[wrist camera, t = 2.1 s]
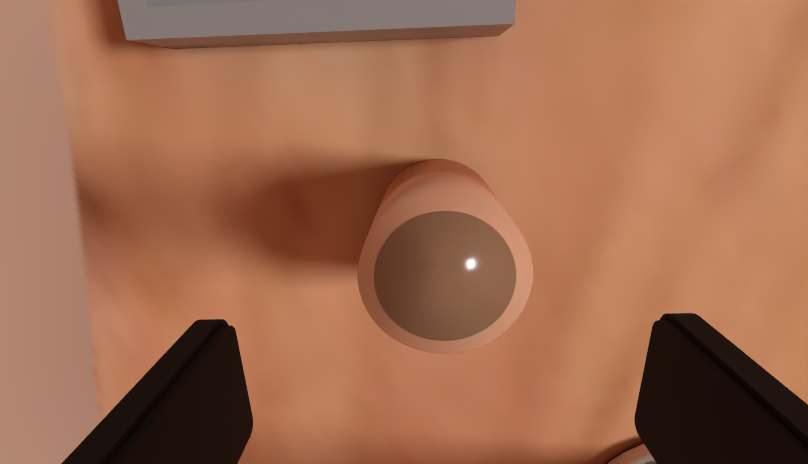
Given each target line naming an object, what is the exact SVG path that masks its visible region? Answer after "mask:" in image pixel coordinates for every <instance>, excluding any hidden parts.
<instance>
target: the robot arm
mask: <svg viewBox="0 0 808 464" xmlns="http://www.w3.org/2000/svg"><path fill="white" fill-rule="evenodd" d="M635 426H636V430H637V433H638V435H639V437H640V438H641V440H642V441H643V443H644V444H642V445H639V446H637V447H635V448H633V449H630V450H628V451H626V452H624V453H622V454H621V455H619V456H618V457H616V458H614V459H613V460H611V461H610V462H609V463H608V464H808V405H807V404H806V403H805V402H804V401H803V400H801V399H800V398H799V397H798V396H796V395H795V394H794V393H793V392H791V391H790V390H789V389H788V388H787V387H785V386H784V385H783V384H782V383H780V382H779V381H778V380H777V379H776V378H774V377H773V376H772V375H771V374H769V373H768V372H767V371H766V370H765V369H763V368H762V367H761V366H760V365H758V364H757V363H756V362H755V361H754V360H752V359H751V358H750V357H749V356H747V355H746V354H745V353H744V352H743V351H741V350H740V349H739V348H738V347H736V346H735V345H734V344H733V343H732V342H730V341H729V340H728V339H727V338H725V337H724V336H723V335H722V334H720V333H719V332H718V331H717V330H716V329H714V328H713V327H712V326H711V325H709V324H708V323H707V322H706V321H705V320H703V319H702V318H701V317H700V316H698V315H696V314H693V313H679V314H664V315H663V316H662V317H661V318H660V320H657V321H655V323H654V324H653V327H652V331H651V337H650V342H649V347H648V352H647V357H646V362H645V367H644V372H643V377H642V382H641V387H640V392H639V398H638V403H637V408H636V413H635ZM252 428H253V417H252V412H251V407H250V401H249V396H248V391H247V386H246V381H245V376H244V371H243V366H242V361H241V356H240V351H239V346H238V341H237V336H236V331H235V328H234V327H233V326H228V323H227V322H226V321H225V320H223V319H216V320H197V321H195V322H194V323H193V324H192V325H191V326H190V327H189V328H188V330H187V331H186V332H185V333H184V334H183V335H182V336H181V337H180V338H179V339H178V340H177V341H176V342H175V343H174V344H173V345H172V347H171V348H170V349H169V350H168V351H167V352H166V353H165V354H164V355H163V356H162V357H161V358H160V359H159V360H158V361H157V363H156V364H155V365H154V366H153V367H152V368H151V369H150V370H149V371H148V372H147V373H146V374H145V375H144V376H143V377H142V379H141V380H140V381H139V382H138V383H137V384H136V385H135V386H134V387H133V388H132V389H131V390H130V391H129V392H128V393H127V394H126V396H125V397H124V398H123V399H122V400H121V401H120V402H119V403H118V404H117V405H116V406H115V407H114V408H113V409H112V410H111V412H110V413H109V414H108V415H107V416H106V417H105V418H104V419H103V420H102V421H101V422H100V423H99V424H98V425H97V426H96V428H95V429H94V430H93V431H92V432H91V433H90V434H89V435H88V436H87V437H86V438H85V439H84V441H82V442H81V444H80V445H79V446H78V447H77V448H76V449H75V450H74V451H73V452H72V453H71V454H70V455H69V456H68V457H67V458H66V459H65V461H64V462H63V463H62V464H237V463H238V461H239V459H240V457H241V455H242V453H243V451H244V448H245V446H246V444H247V442H248V440H249V438H250V435H251V432H252Z"/></svg>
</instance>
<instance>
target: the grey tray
mask: <svg viewBox="0 0 808 464" xmlns="http://www.w3.org/2000/svg"><path fill="white" fill-rule="evenodd" d="M117 1H118V5H119V10H120V14H121V19H122V23H123V27H124V32H125V36H126V40H129V41H134V42H140V43H145V44H151V45H156V46H161V47H167V48H172V49H184V48H208V47H233V46H258V45H282V44H307V43H331V42H356V41H380V40H405V39H430V38H454V37H479V36H499V35H501V34H502V33H503V32H504V31H506V30H507V29H508V28H510V27H511V26H512V25H513V24H514V23H515V2H516V0H117Z"/></svg>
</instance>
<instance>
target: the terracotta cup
mask: <svg viewBox="0 0 808 464" xmlns="http://www.w3.org/2000/svg"><path fill="white" fill-rule="evenodd" d="M532 280H533V266H532V259H531V255H530V252H529V248H528V246H527V243H526V241H525V239H524V237H523V235H522V234H521V232H520V231H519V229H518V228H517V226H516V225H515V224H514V222H513V221H512V219H511V218H510V217H509V215H508V214H507V212H506V211H505V209H504V208H503V207H502V205H501V204H500V202H499V201H498V200H497V198H496V197H495V195H494V194H493V192H492V191H491V190H490V188H489V187H488V185H487V184H486V183H485V181H484V180H483V179H482V178H481V177H480V176H479V175H478V174H477V173H476V172H475V171H474V170H472V169H470V168H469V167H467V166H465V165H463V164H461V163H458V162H455V161H451V160H445V159H432V160H426V161H421V162H419V163H416V164H413V165H411V166H410V167H408V168H406V169H405V170H403V171H402V172H400V173H399V174H398V175H397V176H396V177H395V178H394V179H393V180H392V182H391V183H390V184H389V186H388V187H387V189H386V191H385V193H384V195H383V198H382V200H381V203H380V205H379V208H378V210H377V213H376V215H375V218H374V220H373V223H372V225H371V228H370V231H369V233H368V236H367V238H366V241H365V243H364V246H363V248H362V251H361V255H360V258H359V264H358V285H359V291H360V294H361V298H362V301H363V303H364V305H365V307H366V310H367V311H368V313H369V314H370V316H371V318H372V319H373V320H374V321H375V323H376V324H377V325H378V326H379V327H380V328H381V329H382V330H383V331H384V332H385V333H387V334H388V335H389V336H391V337H392V338H393V339H395V340H397V341H398V342H400V343H402V344H404V345H406V346H409V347H411V348H414V349H417V350H421V351H425V352H431V353H443V354H446V353H458V352H464V351H468V350H471V349H475V348H478V347H480V346H482V345H485V344H487V343H489V342H490V341H492V340H494V339H496V338H497V337H498V336H500V335H501V334H503V333H504V332H505V331H506V330H507V329H508V328H509V327H510V326H511V325H512V324H513V323H514V322H515V321H516V319H517V318H518V317H519V315H520V314H521V312H522V310H523V309H524V307H525V305H526V302H527V300H528V298H529V294H530V291H531V286H532Z"/></svg>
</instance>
